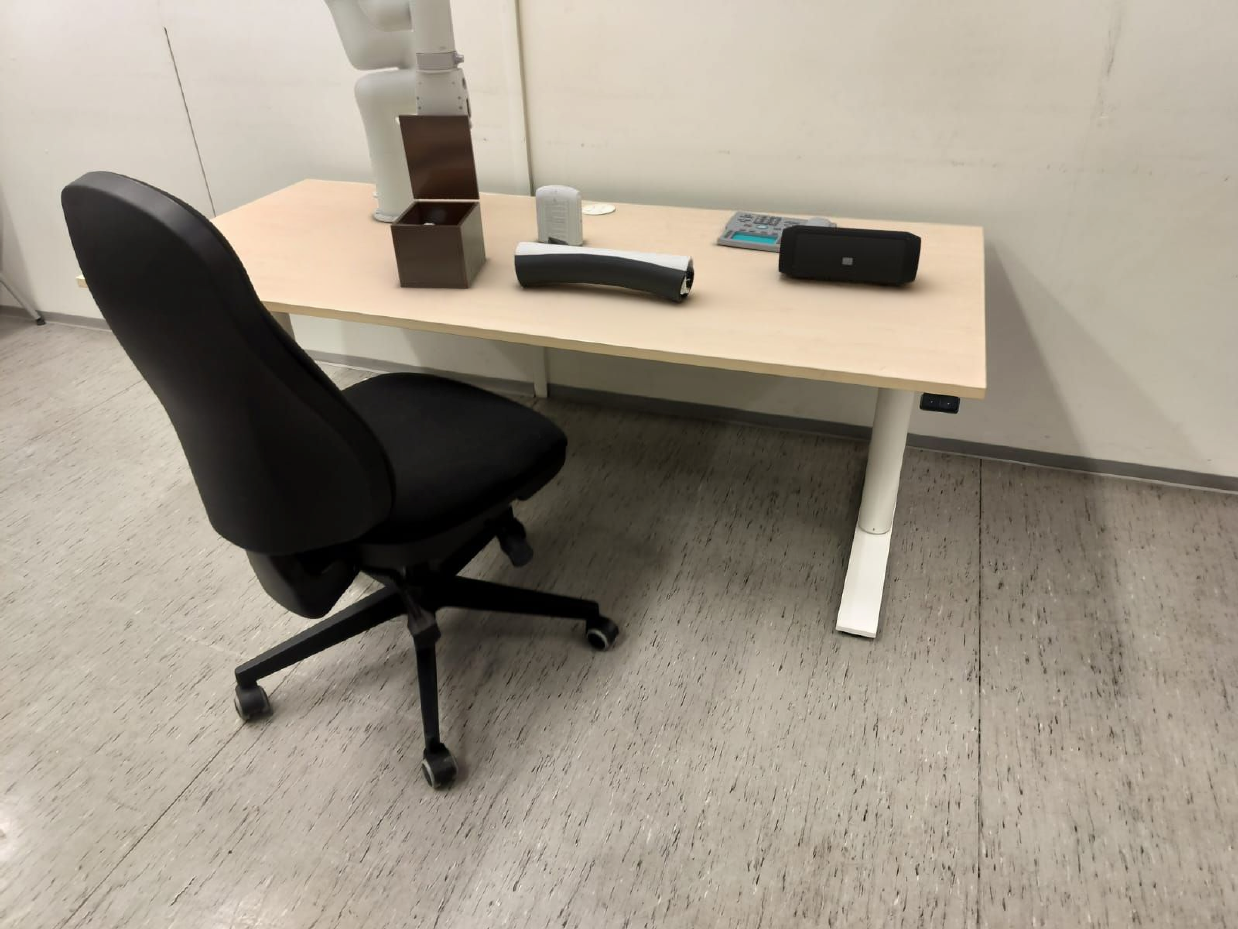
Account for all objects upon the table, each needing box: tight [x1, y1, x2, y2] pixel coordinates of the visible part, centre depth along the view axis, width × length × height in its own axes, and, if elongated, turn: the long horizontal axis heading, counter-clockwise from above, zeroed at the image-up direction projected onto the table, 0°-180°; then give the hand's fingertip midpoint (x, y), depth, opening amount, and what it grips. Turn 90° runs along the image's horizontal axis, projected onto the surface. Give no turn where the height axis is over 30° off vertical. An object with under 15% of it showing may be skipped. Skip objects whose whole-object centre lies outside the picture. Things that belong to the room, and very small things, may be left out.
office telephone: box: [716, 211, 838, 253], centre depth 187 cm, size 23×3×20 cm
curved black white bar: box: [513, 237, 695, 303], centre depth 163 cm, size 35×9×14 cm
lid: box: [397, 114, 481, 201], centre depth 168 cm, size 16×14×1 cm
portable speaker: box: [777, 225, 922, 287], centre depth 163 cm, size 26×10×10 cm, turn 75°
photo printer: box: [535, 184, 584, 247], centre depth 184 cm, size 10×4×12 cm, turn 72°
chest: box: [389, 200, 487, 289], centre depth 170 cm, size 16×14×12 cm
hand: (450, 159), depth 174 cm, fingers closed
